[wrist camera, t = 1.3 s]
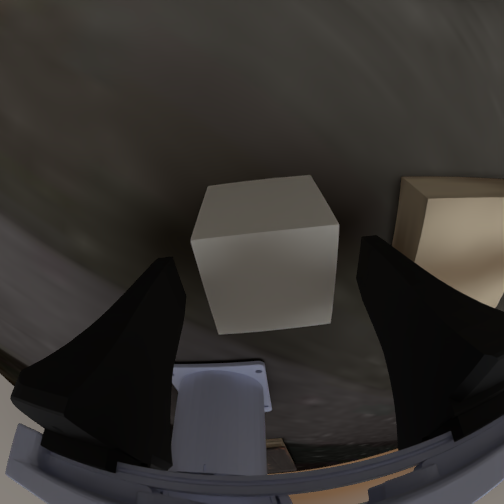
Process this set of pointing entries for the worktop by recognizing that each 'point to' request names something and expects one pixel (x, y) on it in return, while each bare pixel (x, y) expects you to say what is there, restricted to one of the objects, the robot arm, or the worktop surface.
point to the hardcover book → (278, 457)
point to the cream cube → (267, 254)
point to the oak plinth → (455, 232)
